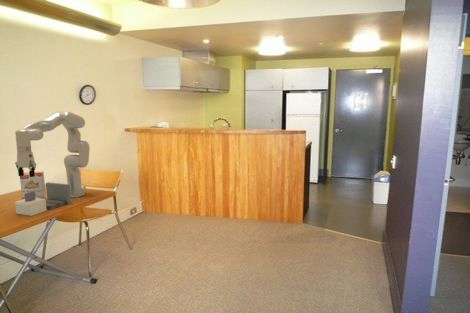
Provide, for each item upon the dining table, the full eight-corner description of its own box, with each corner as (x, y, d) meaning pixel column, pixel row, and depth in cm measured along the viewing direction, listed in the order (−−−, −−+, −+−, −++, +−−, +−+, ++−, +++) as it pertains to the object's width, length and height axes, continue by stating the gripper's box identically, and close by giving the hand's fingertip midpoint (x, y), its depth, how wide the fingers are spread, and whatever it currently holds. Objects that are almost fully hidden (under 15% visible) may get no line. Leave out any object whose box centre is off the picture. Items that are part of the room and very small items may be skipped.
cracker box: (22, 202, 231) (19, 173, 228) (24, 200, 236) (21, 172, 233) (44, 200, 235) (41, 172, 232) (46, 198, 241) (43, 170, 237)
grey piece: (50, 201, 233) (48, 182, 231) (71, 203, 226) (69, 184, 224) (30, 207, 219) (28, 187, 217) (52, 210, 212) (50, 189, 210)
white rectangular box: (32, 208, 217) (30, 190, 215) (46, 210, 212) (44, 191, 210) (15, 214, 206) (13, 194, 204) (30, 216, 201) (28, 196, 199)
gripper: (39, 149, 203) (42, 176, 205) (20, 148, 209) (22, 174, 211) (28, 150, 196) (31, 178, 198) (8, 149, 202) (11, 176, 204)
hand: (26, 176), depth 205 cm, fingers open, 9 cm apart
